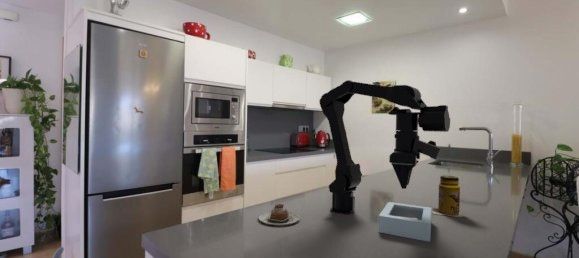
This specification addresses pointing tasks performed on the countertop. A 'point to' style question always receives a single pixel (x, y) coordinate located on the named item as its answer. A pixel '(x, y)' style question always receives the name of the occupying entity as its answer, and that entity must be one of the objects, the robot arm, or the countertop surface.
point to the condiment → (448, 197)
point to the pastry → (279, 216)
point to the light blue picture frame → (406, 221)
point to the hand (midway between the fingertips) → (405, 186)
